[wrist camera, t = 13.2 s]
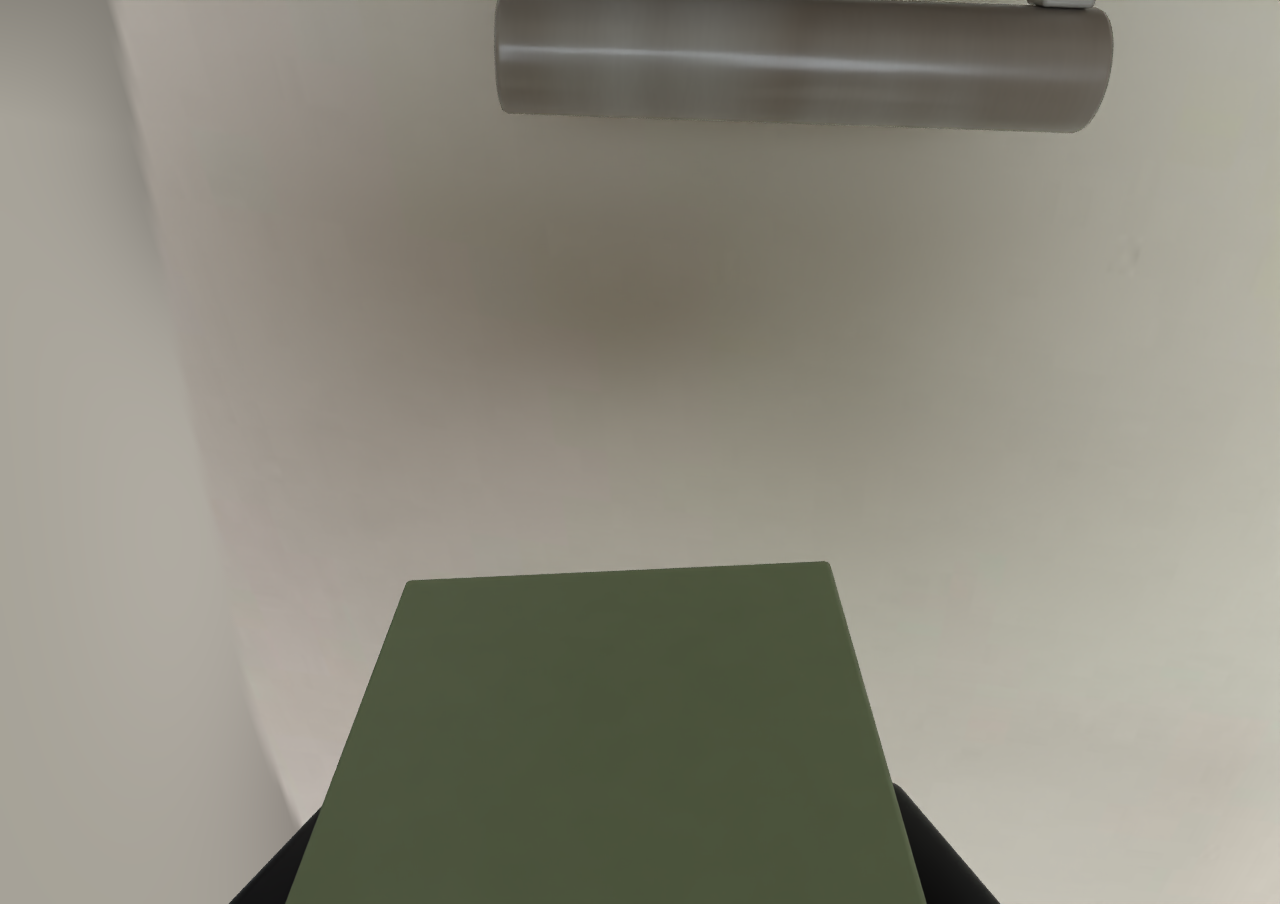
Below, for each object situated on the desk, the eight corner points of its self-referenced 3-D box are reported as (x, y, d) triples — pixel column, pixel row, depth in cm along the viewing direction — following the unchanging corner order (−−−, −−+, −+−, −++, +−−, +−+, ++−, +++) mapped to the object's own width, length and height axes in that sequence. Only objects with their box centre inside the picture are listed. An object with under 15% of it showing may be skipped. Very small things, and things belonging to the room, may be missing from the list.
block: (466, 867, 11) (381, 1301, 8) (405, 578, 9) (255, 974, 6) (820, 855, 11) (901, 1291, 7) (829, 559, 9) (942, 952, 6)
